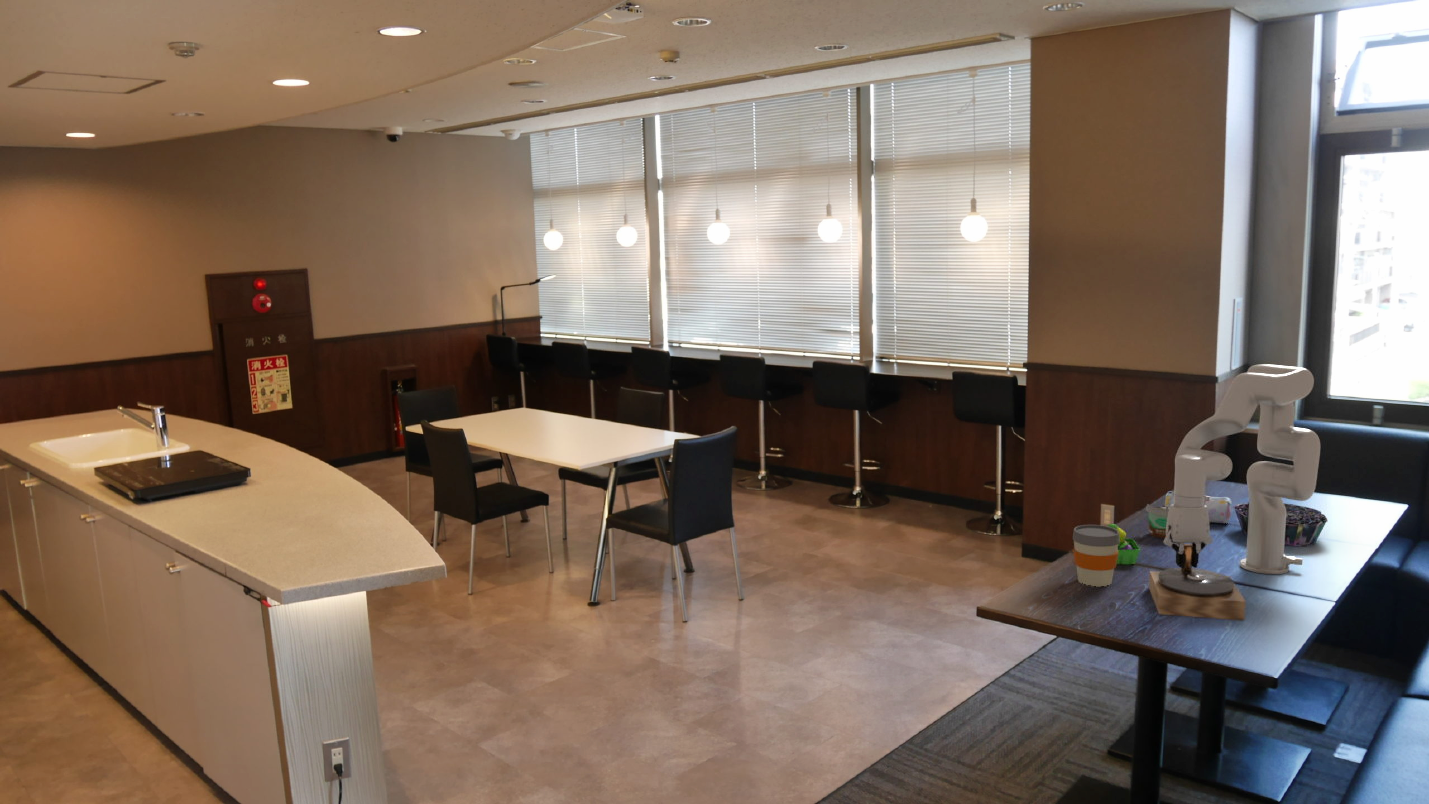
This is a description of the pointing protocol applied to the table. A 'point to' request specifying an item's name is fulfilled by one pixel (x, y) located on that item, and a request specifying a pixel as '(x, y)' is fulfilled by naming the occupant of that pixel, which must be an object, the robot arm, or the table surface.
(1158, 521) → the food container
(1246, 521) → the decorative bowl
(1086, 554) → the reusable coffee cup
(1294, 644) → the table surface
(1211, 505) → the pencil case
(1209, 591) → the handwheel
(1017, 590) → the table surface
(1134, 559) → the fruit basket
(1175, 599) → the block
